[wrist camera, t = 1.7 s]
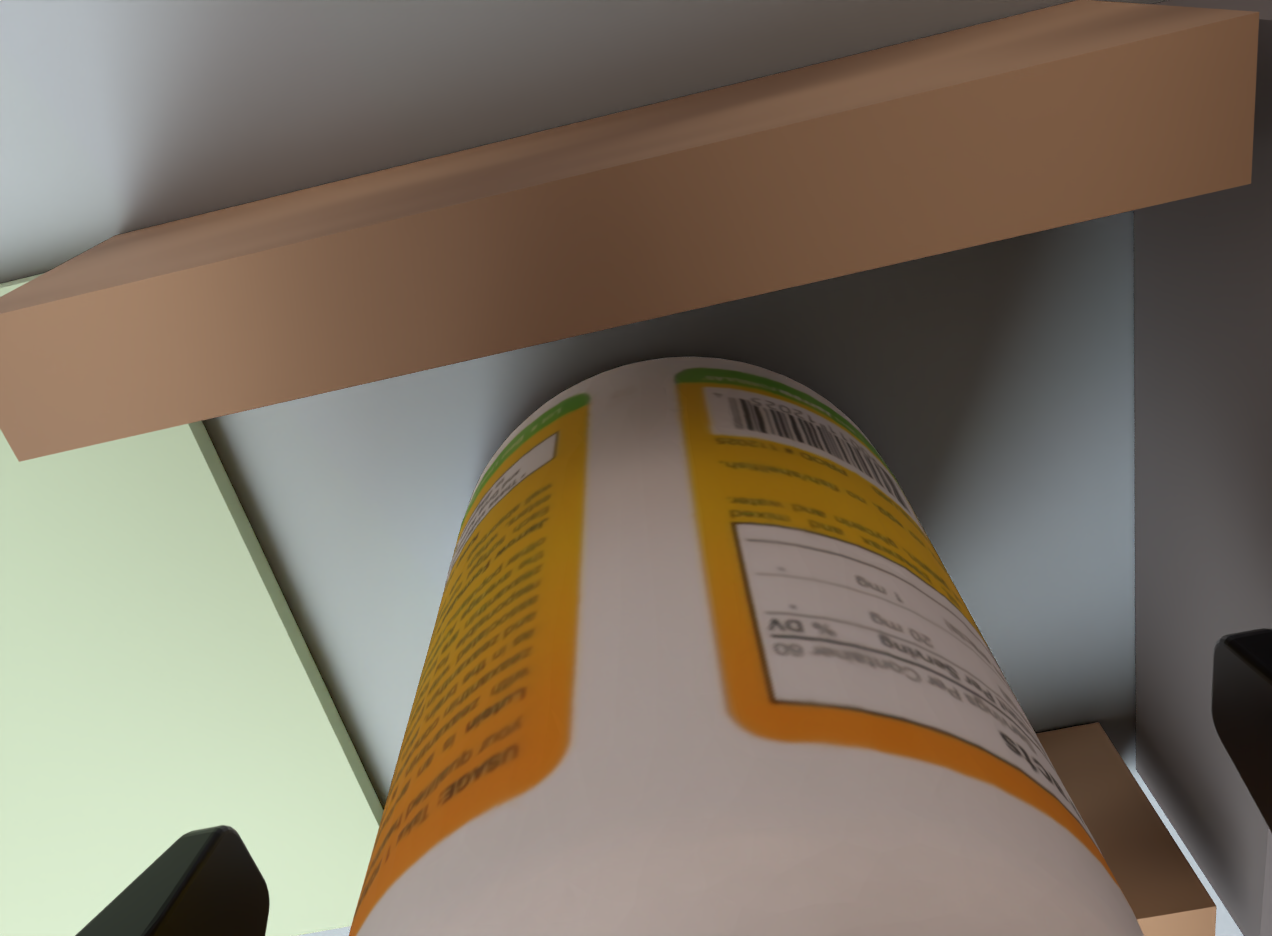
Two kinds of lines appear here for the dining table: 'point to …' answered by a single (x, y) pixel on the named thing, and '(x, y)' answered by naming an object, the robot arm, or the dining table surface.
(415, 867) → the supplement bottle
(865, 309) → the dining table surface
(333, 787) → the pad
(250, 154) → the dining table surface
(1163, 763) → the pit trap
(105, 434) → the walnut trough
